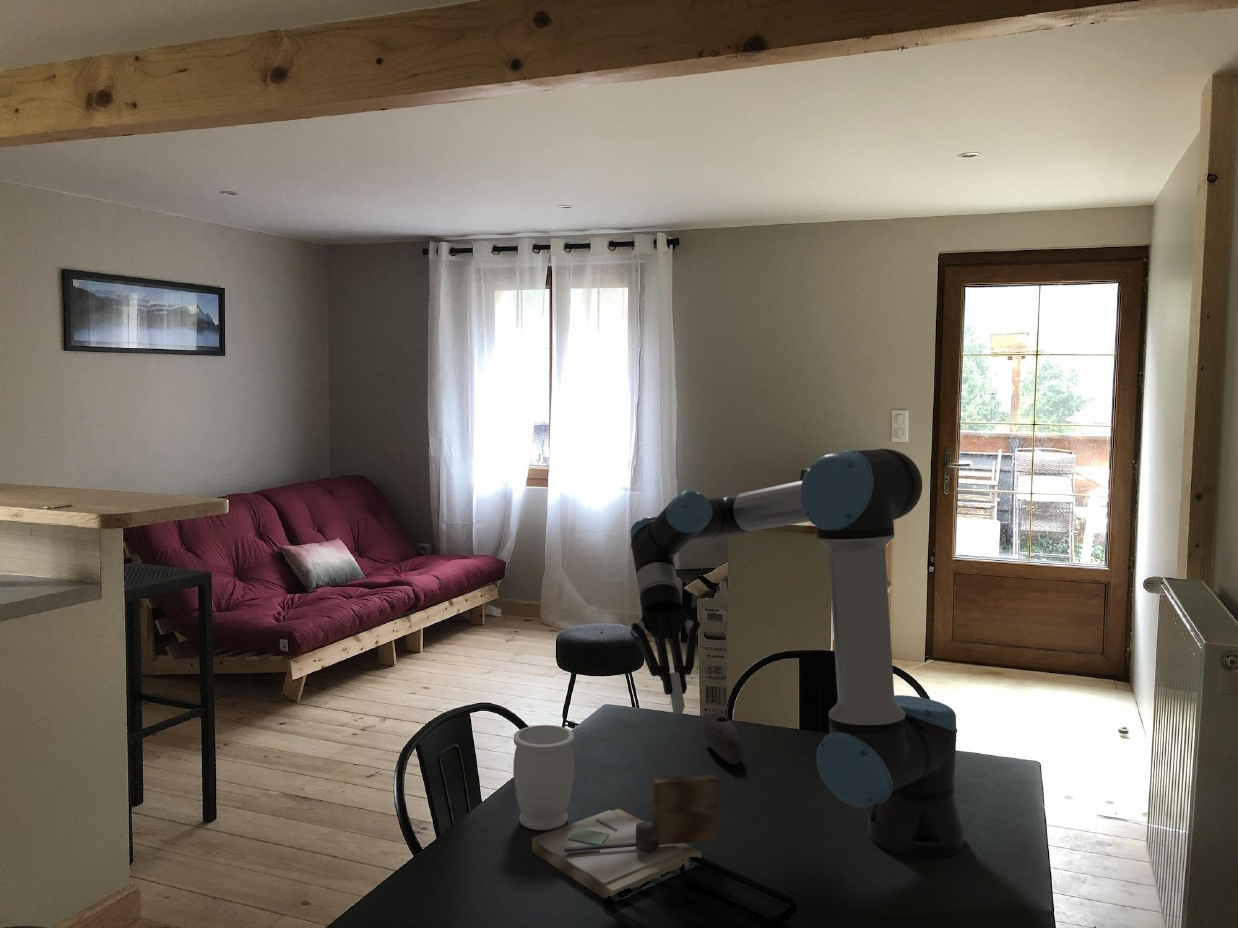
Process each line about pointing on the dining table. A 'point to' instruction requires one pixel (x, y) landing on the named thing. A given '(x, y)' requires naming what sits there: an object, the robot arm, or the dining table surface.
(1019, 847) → the dining table surface
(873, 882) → the dining table surface
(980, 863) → the dining table surface
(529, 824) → the jar
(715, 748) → the perforated stone tool
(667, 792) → the peg
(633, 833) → the light wood flat board
